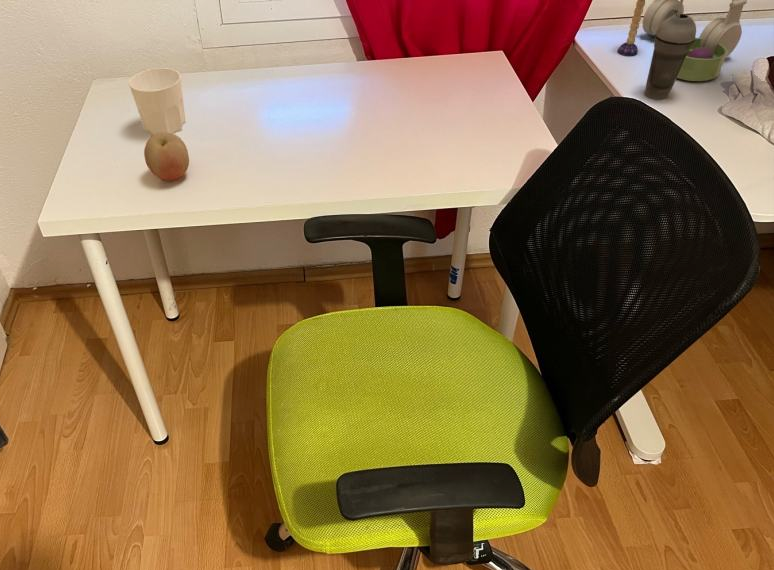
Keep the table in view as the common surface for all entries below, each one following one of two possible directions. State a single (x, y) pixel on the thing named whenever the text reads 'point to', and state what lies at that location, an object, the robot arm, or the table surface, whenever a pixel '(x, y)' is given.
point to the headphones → (713, 33)
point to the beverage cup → (669, 53)
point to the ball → (701, 53)
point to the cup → (159, 99)
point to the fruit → (166, 156)
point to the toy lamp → (632, 32)
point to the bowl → (702, 64)
